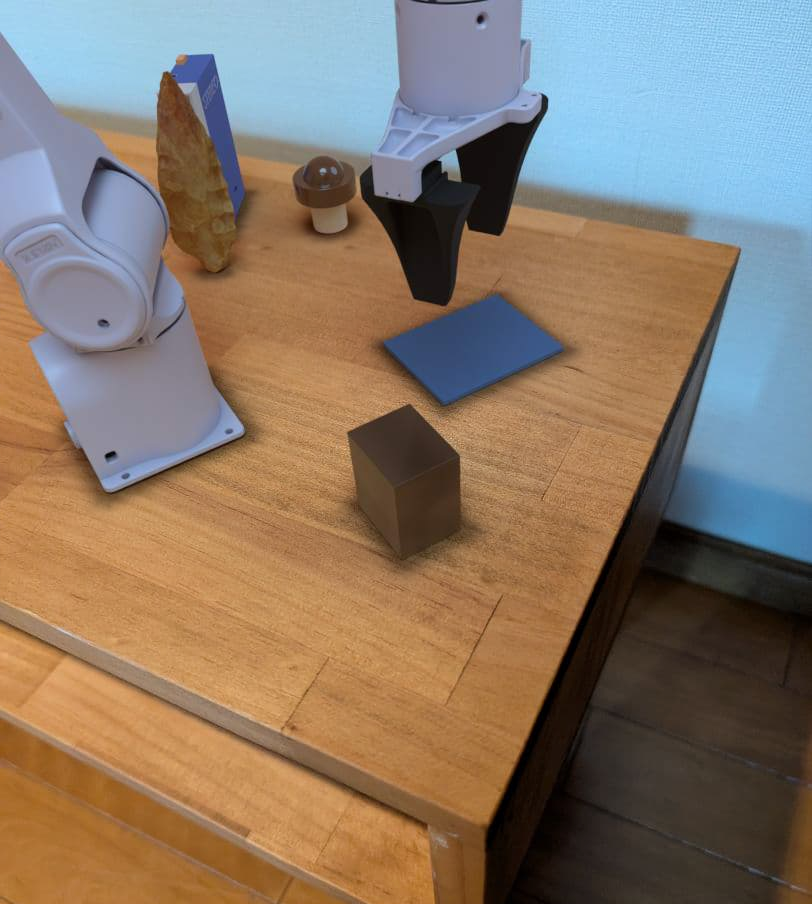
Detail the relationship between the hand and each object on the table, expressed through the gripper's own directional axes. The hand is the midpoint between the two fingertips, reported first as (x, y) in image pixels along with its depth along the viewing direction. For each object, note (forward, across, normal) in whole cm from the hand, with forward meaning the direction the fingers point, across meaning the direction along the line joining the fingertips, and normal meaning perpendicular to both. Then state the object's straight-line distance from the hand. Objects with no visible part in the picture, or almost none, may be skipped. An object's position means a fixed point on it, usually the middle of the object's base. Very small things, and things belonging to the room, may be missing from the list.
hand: (460, 263), depth 45 cm
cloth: (+10, +5, +1) cm, 11 cm away
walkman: (+10, +14, +30) cm, 34 cm away
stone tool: (+10, +7, +25) cm, 28 cm away
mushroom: (+10, +16, +20) cm, 27 cm away
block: (+10, -11, -2) cm, 15 cm away
